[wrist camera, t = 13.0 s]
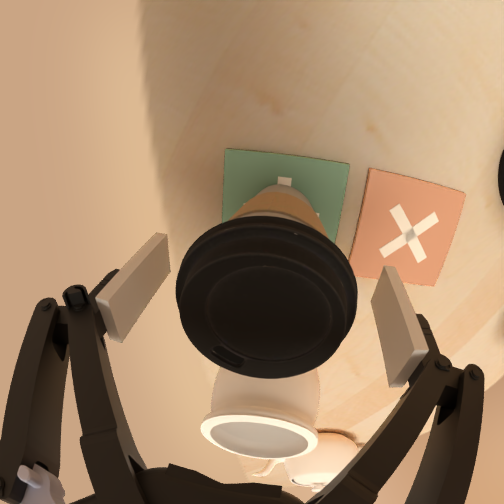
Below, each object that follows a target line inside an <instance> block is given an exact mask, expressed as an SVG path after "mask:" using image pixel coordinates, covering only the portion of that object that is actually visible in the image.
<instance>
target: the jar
mask: <svg viewBox="0 0 504 504" xmlns="http://www.w3.org/2000/svg"><path fill="white" fill-rule="evenodd" d="M319 400H320V384H319V376H318V371H317V368H315V369H313V370H311V371H309V372H306V373H304V374H301V375H297V376H293V377H288V378H280V379H262V378H254V377H248V376H244V375H240V374H237V373H234V372H231V371H229V370H227V369H224V368H222V367H220V369H219V371H218V374H217V377H216V380H215V383H214V388H213V393H212V400H211V412H210V413H209V414H208V415H207V416H206V417H205V418H204V420H203V422H202V425H201V432H202V434H203V435H204V436H205V438H206V439H208V440H209V441H210V442H212V443H213V444H215V445H216V446H218V447H220V448H222V449H224V450H227V451H229V452H232V453H235V454H239V455H243V456H247V457H252V458H260V459H288V458H294V457H298V456H302V455H305V454H307V453H309V452H311V451H312V450H314V449H315V448H316V446H317V444H318V432H317V430H316V429H315V427H314V424H315V421H316V418H317V414H318V408H319Z"/></svg>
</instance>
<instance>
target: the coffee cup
mask: <svg viewBox="0 0 504 504" xmlns="http://www.w3.org/2000/svg"><path fill="white" fill-rule="evenodd" d="M357 293H358V291H357V283H356V278H355V275H354V272H353V269H352V267H351V265H350V263H349V262H348V260H347V258H346V257H345V255H344V254H343V253H342V251H341V250H340V249H339V248H338V247H337V246H336V245H335V244H334V243H333V242H332V241H331V240H330V239H329V238H328V235H327V233H326V231H325V229H324V227H323V225H322V223H321V221H320V219H319V217H318V215H317V214H316V213H315V212H314V210H313V208H312V206H311V204H310V202H309V200H308V199H307V198H306V197H305V196H304V195H303V194H302V193H301V192H300V191H298V190H297V189H295V188H293V187H290V186H288V185H282V184H276V185H271V186H268V187H266V188H264V189H263V190H262V191H260V192H259V193H258V194H257V195H256V196H255V197H253V198H252V199H250V200H249V201H248V202H246V203H245V204H244V205H243V206H242V207H241V208H240V209H239V210H238V211H237V212H236V213H235V214H234V215H233V216H232V217H231V218H230V219H229V220H228V221H226V222H224V223H221V224H219V225H217V226H215V227H213V228H211V229H210V230H208V231H207V232H205V233H204V234H203V235H201V236H200V237H199V238H198V239H197V240H196V241H195V242H194V243H193V244H192V246H191V247H190V248H189V250H188V251H187V253H186V254H185V256H184V258H183V261H182V263H181V266H180V270H179V273H178V276H177V280H176V300H177V304H178V309H179V312H180V319H181V323H182V326H183V329H184V331H185V333H186V335H187V336H188V338H189V339H190V341H191V342H192V344H193V345H194V346H195V347H196V348H197V349H198V350H199V351H200V352H201V353H202V354H203V355H204V356H205V357H207V358H208V359H209V360H211V361H212V362H214V363H215V364H217V365H219V366H221V367H222V368H224V369H227V370H229V371H231V372H234V373H237V374H240V375H244V376H248V377H254V378H262V379H280V378H288V377H293V376H297V375H301V374H304V373H306V372H309V371H311V370H313V369H315V368H317V367H318V366H320V365H321V364H323V363H324V362H326V361H327V360H328V359H329V358H330V357H331V356H332V355H333V354H334V353H335V351H336V350H337V349H338V347H339V346H340V344H341V342H342V341H343V339H344V338H345V337H346V335H347V334H348V332H349V331H350V329H351V327H352V324H353V322H354V319H355V315H356V309H357Z"/></svg>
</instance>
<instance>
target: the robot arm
mask: <svg viewBox="0 0 504 504" xmlns="http://www.w3.org/2000/svg"><path fill="white" fill-rule="evenodd" d="M169 273H170V262H169V251H168V239H167V234H162V233H155V235H153V236H152V237H151V238H150V239H149V240H148V241H147V242H146V243H145V245H144V246H142V247H141V249H140V250H139V251H138V252H137V253H136V254H135V255H134V256H133V257H132V258H131V259H130V260H129V261H128V262H127V263H126V264H125V265H124V266H123V267H122V268H121V270H119V269H115V270H113V271H111V272H110V273H108V274H107V275H106V276H105V278H104V279H103V280H102V281H101V282H100V283H99V284H98V285H97V286H96V287H95V288H94V289H93V290H92V291H91V293H90V294H89V295H88V293H87V290H86V287H84V286H83V285H73V286H70V287H68V288H67V289H66V290H65V291H64V292H63V295H62V297H63V299H64V302H65V304H66V306H58V304H57V302H56V300H55V299H54V298H45V299H43V300H41V301H40V302H39V303H38V304H37V305H36V307H35V310H34V312H33V315H32V318H31V320H30V323H29V326H28V328H27V331H26V334H25V337H24V340H23V343H22V346H21V349H20V353H19V356H18V359H17V363H16V366H15V370H14V374H13V378H12V382H11V386H10V390H9V395H8V399H7V405H6V410H5V415H4V422H3V428H2V437H1V440H0V499H1V500H2V501H5V502H7V503H9V504H65V502H64V500H63V497H64V496H65V491H64V489H63V487H62V484H61V482H60V480H59V479H58V476H59V469H60V443H61V422H62V409H63V398H64V390H65V382H66V375H67V368H68V362H69V357H70V361H71V370H72V378H73V385H74V392H75V398H76V403H77V409H78V414H79V419H80V423H81V428H82V433H83V436H81V437H80V445H81V449H82V453H83V457H84V460H85V464H86V467H87V470H88V474H89V477H90V480H91V483H92V486H93V489H94V491H95V494H92V495H90V496H88V497H85V498H83V499H80V500H78V501H75V502H72V503H70V504H304V503H303V502H302V501H301V500H300V499H298V498H297V497H295V496H294V495H292V494H290V493H287V492H285V491H282V486H277V485H268V484H260V483H239V484H223V483H220V482H217V481H215V480H213V479H211V478H209V477H207V476H205V475H203V474H201V473H199V472H197V471H194V470H190V469H187V468H184V467H180V466H177V465H173V464H169V466H168V468H166V467H162V468H161V467H159V468H151V469H147V467H146V466H145V463H144V461H143V460H142V458H141V456H140V454H139V453H138V450H137V448H136V446H135V443H134V440H133V437H132V435H131V432H130V429H129V426H128V423H127V420H126V418H125V415H124V412H123V408H122V405H121V402H120V399H119V395H118V392H117V388H116V385H115V381H114V377H113V374H112V370H111V366H110V362H109V357H108V353H107V349H106V344H105V340H104V337H103V335H104V334H105V333H106V332H107V333H108V335H109V338H110V339H111V340H114V341H117V342H120V343H122V342H123V340H124V339H125V338H126V336H127V334H128V333H129V331H130V330H131V328H132V327H133V325H134V324H135V322H136V321H137V319H138V318H139V316H140V315H141V313H142V312H143V310H144V309H145V308H146V306H147V304H148V303H149V302H150V300H151V299H152V297H153V296H154V294H155V293H156V292H157V290H158V289H159V287H160V286H161V284H162V283H163V282H164V280H165V279H166V277H167V276H168V274H169ZM371 305H372V309H373V313H374V317H375V321H376V325H377V329H378V334H379V338H380V343H381V347H382V352H383V357H384V362H385V367H386V373H387V378H388V384H389V387H403V386H404V385H405V383H406V382H407V381H408V382H409V388H408V389H407V390H406V391H405V393H404V394H403V395H402V396H401V398H400V401H399V402H398V403H397V405H396V406H395V408H394V409H393V410H392V412H391V413H390V414H389V416H388V417H387V418H386V420H385V421H384V422H383V424H382V425H381V426H380V428H379V429H378V430H377V431H376V433H375V434H374V435H373V436H372V437H371V439H370V440H369V441H368V442H367V443H366V445H365V446H364V447H363V448H362V449H361V450H360V451H359V453H358V454H357V455H356V456H355V457H354V458H353V459H352V460H351V461H350V462H349V463H348V465H347V466H346V467H345V468H344V469H343V470H342V471H341V472H340V473H339V474H338V475H337V476H336V477H335V478H334V479H333V480H332V481H331V482H330V483H329V484H328V485H326V486H325V487H324V488H323V489H322V490H321V491H320V492H318V493H317V494H316V495H315V496H313V497H312V498H311V499H310V500H309V501H307V502H306V503H305V504H373V503H374V502H375V501H376V499H377V497H378V492H379V491H380V489H381V488H382V487H383V485H384V484H385V483H386V481H387V480H388V479H389V478H390V476H391V475H392V474H393V473H394V471H395V470H396V468H397V467H398V466H399V464H400V463H401V461H402V460H403V458H404V457H405V456H406V454H407V453H408V451H409V449H410V448H411V447H412V445H413V444H414V442H415V440H416V439H417V437H418V436H419V434H420V432H421V431H422V429H423V427H424V425H425V424H426V422H427V420H428V418H429V417H430V415H431V413H432V411H433V409H434V407H435V406H436V405H437V408H436V412H435V416H434V421H433V424H432V428H431V432H430V436H429V439H428V443H427V446H426V449H425V452H424V455H423V458H422V461H421V464H420V467H419V470H418V472H417V475H416V478H415V480H414V483H413V485H412V488H411V490H410V493H409V495H408V497H407V499H406V502H405V504H464V503H465V500H466V497H467V493H468V490H469V486H470V482H471V478H472V474H473V470H474V466H475V461H476V456H477V450H478V445H479V438H480V431H481V423H482V413H483V401H484V400H483V399H484V373H483V371H482V370H481V369H480V368H479V367H478V366H477V365H475V364H468V365H467V366H466V367H465V369H464V370H462V369H458V368H455V367H452V363H451V362H450V360H449V359H448V358H447V357H446V356H444V355H442V354H440V352H439V349H438V346H437V344H436V341H435V339H434V336H433V335H432V334H433V333H432V331H431V330H430V326H429V324H428V321H427V320H426V319H425V318H424V316H423V315H422V314H415V311H414V309H413V306H412V304H411V302H410V299H409V297H408V294H407V292H406V290H405V288H404V285H403V283H402V281H401V279H400V276H399V274H398V272H397V270H396V268H395V267H393V266H386V265H384V266H383V269H382V272H381V275H380V278H379V281H378V283H377V286H376V289H375V291H374V294H373V297H372V299H371Z"/></svg>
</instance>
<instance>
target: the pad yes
mask: <svg viewBox="0 0 504 504" xmlns="http://www.w3.org/2000/svg"><path fill="white" fill-rule="evenodd" d="M349 166H350V165H349V164H347V163H341V162H335V161H330V160H323V159H317V158H310V157H303V156H296V155H288V154H280V153H272V152H262V151H252V150H240V149H225V160H224V182H223V207H222V223H224V222H226V221H228V220H229V219H230V218H231V217H232V216H233V215H234V214H235V213H236V212H237V211H238V210H239V209H240V208H241V207H242V206H243V205H244V204H245V203H246V202H248V201H249V200H250V199H252V198H253V197H255V196H256V195H257V194H258V193H259V192H260V191H262V190H263V189H264V188H266V187H268V186H271V185H276V184H282V185H288V186H290V187H293V188H295V189H297V190H298V191H300V192H301V193H302V194H303V195H304V196H305V197H306V198H307V199H308V200H309V202H310V204H311V206H312V208H313V210H314V212H315V213H316V214H317V215H318V217H319V219H320V221H321V223H322V225H323V227H324V229H325V231H326V233H327V235H328V238H329V239H330V240H331V241H332V242H333V243H334V244H335V239H336V235H337V230H338V225H339V220H340V216H341V211H342V205H343V200H344V195H345V189H346V184H347V178H348V172H349Z"/></svg>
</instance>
